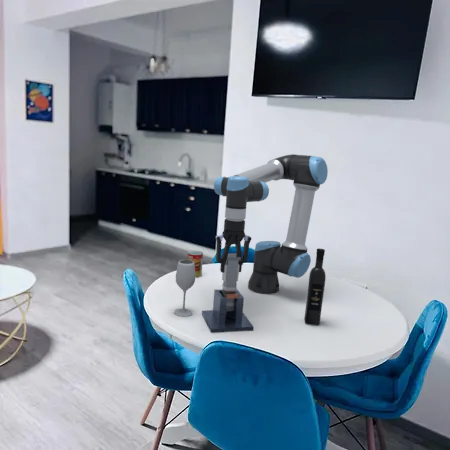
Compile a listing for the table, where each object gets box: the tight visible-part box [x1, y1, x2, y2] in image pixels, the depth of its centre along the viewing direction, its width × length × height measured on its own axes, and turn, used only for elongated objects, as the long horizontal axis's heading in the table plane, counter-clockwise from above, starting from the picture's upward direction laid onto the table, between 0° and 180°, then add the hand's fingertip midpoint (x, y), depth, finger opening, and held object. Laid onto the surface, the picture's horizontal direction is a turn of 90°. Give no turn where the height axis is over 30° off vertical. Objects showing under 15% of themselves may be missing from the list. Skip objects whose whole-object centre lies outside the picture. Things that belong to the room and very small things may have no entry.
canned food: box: [186, 249, 204, 279], centre depth 204 cm, size 8×8×12 cm
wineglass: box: [173, 259, 196, 317], centre depth 157 cm, size 8×8×21 cm
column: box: [222, 252, 241, 311], centre depth 151 cm, size 5×5×21 cm
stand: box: [201, 288, 255, 334], centre depth 153 cm, size 16×16×13 cm
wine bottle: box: [303, 248, 326, 327], centre depth 157 cm, size 6×6×30 cm
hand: (230, 280), depth 151 cm, fingers closed on column, 4 cm apart
